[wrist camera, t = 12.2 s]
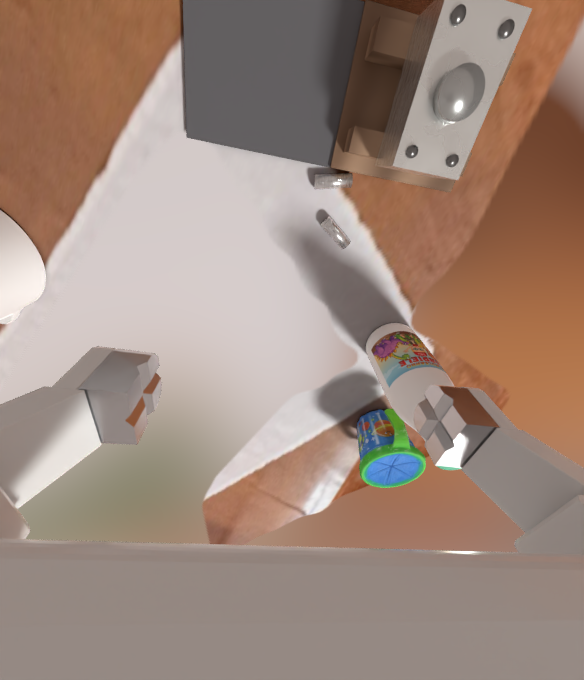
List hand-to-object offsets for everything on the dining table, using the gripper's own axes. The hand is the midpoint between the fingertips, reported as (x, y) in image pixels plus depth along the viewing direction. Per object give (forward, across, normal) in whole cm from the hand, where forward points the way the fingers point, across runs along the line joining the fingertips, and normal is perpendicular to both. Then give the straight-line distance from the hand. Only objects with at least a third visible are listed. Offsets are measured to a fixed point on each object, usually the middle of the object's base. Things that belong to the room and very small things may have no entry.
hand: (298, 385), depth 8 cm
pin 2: (+29, -6, +1) cm, 29 cm away
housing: (+26, -11, -12) cm, 30 cm away
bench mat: (+29, +3, -12) cm, 31 cm away
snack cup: (+29, -23, +33) cm, 50 cm away
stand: (+29, -11, -12) cm, 33 cm away
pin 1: (+29, -5, -4) cm, 30 cm away
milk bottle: (+29, -19, +15) cm, 38 cm away
